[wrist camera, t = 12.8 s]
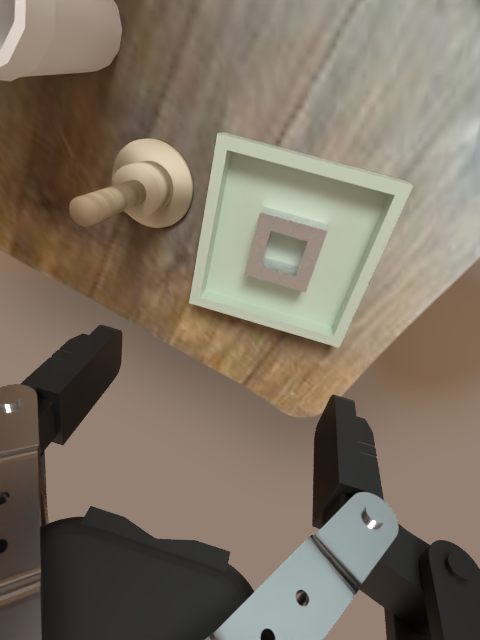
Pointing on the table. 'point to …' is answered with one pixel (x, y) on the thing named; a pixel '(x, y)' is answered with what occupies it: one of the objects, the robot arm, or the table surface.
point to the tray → (302, 200)
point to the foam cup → (57, 36)
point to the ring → (291, 227)
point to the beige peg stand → (141, 187)
